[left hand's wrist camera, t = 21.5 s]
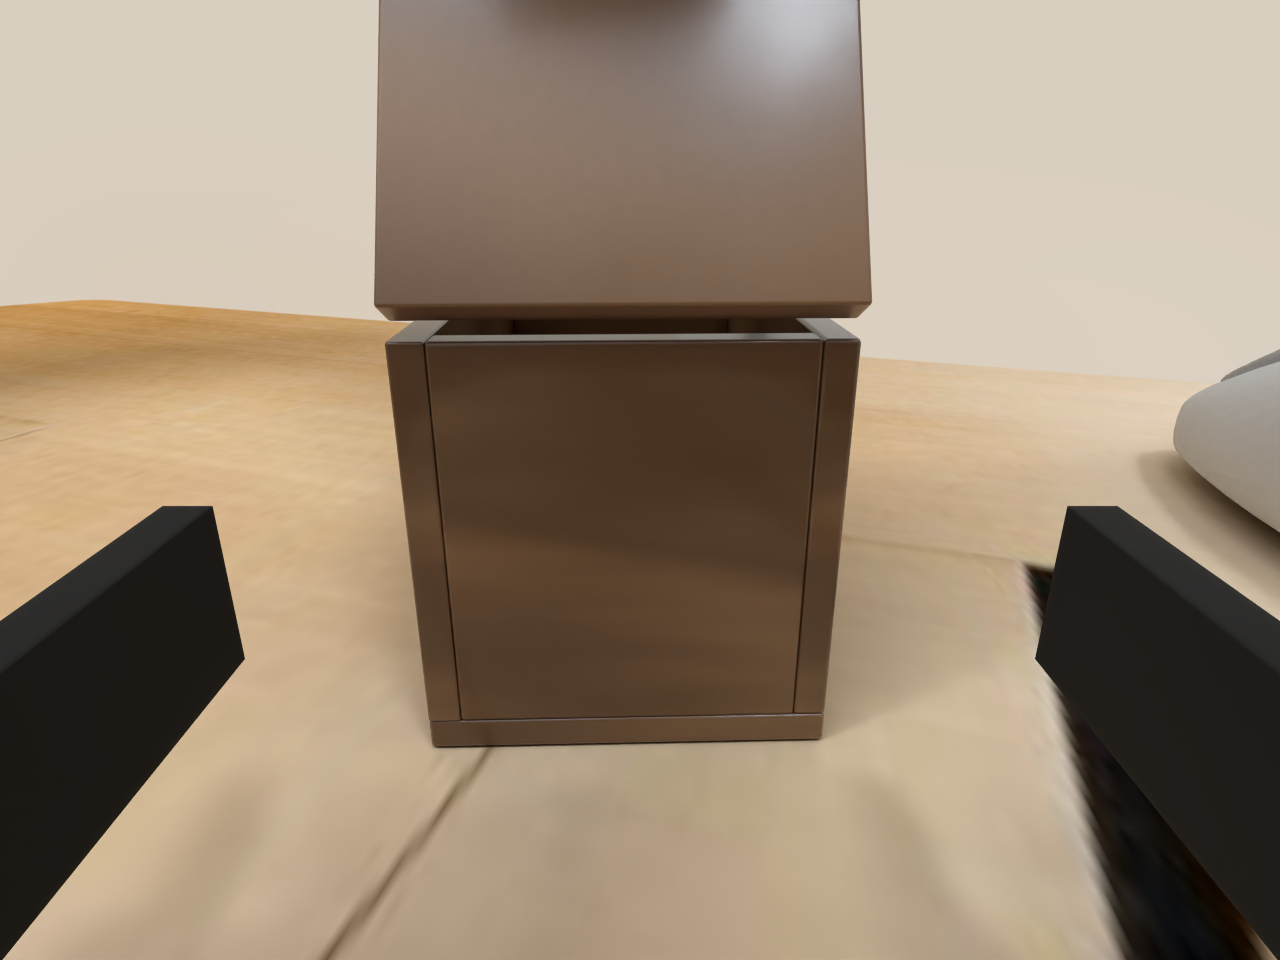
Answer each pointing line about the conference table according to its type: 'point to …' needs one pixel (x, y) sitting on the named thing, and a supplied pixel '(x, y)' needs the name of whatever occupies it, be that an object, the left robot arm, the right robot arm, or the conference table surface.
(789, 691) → the chest
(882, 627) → the conference table surface
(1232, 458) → the projector
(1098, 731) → the left robot arm
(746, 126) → the lid
